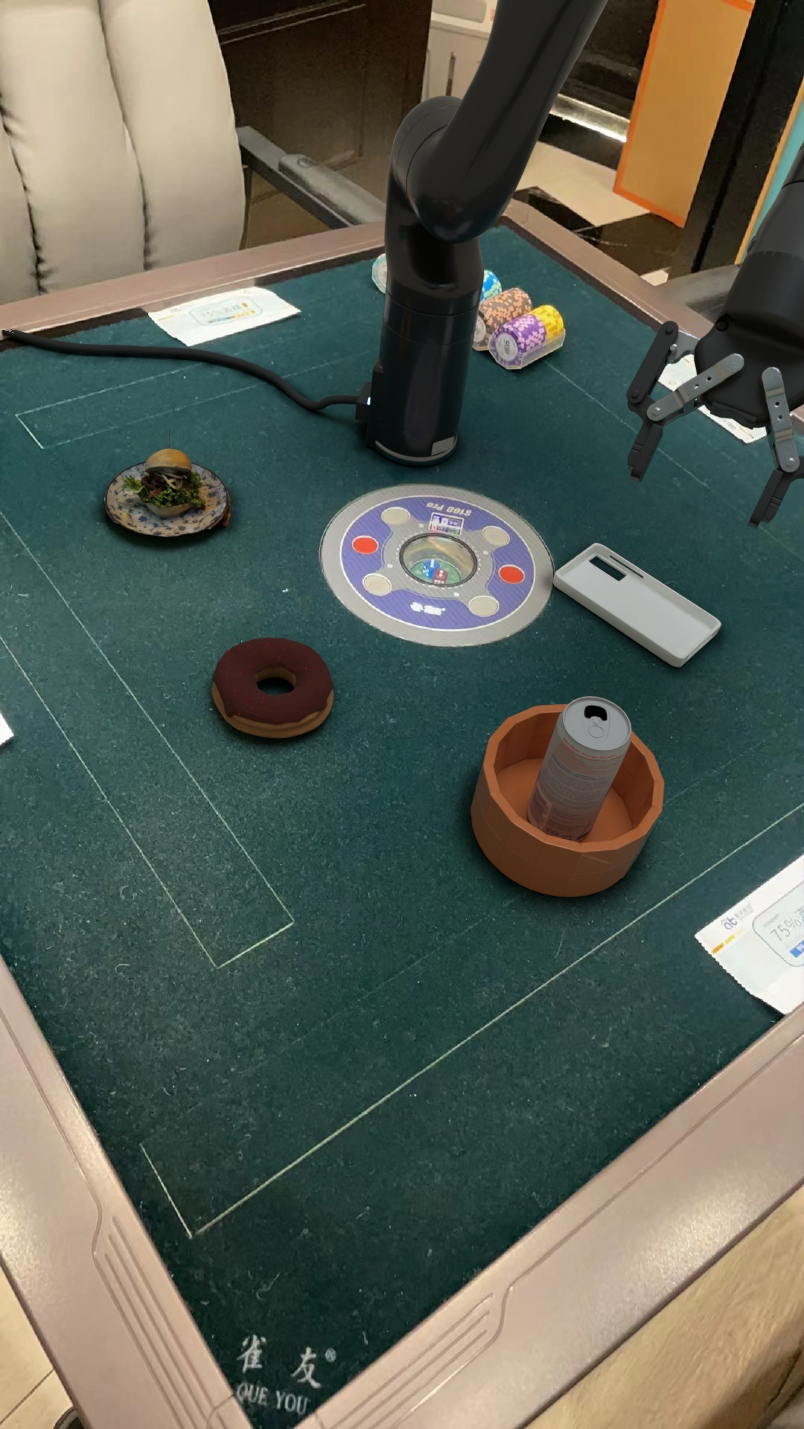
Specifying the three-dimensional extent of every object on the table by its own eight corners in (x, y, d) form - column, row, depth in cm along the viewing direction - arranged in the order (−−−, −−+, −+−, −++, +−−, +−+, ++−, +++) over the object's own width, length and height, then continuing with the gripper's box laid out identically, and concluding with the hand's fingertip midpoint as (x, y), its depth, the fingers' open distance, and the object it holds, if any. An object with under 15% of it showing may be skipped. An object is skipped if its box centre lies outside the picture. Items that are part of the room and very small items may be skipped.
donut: (350, 679, 91) (353, 648, 88) (306, 762, 85) (308, 732, 82) (243, 643, 92) (242, 611, 89) (192, 723, 86) (190, 691, 83)
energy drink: (591, 795, 85) (632, 699, 76) (593, 851, 82) (636, 758, 72) (526, 786, 85) (559, 689, 76) (525, 841, 82) (559, 746, 72)
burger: (81, 524, 100) (70, 460, 94) (146, 458, 107) (140, 395, 101) (193, 566, 98) (189, 503, 92) (252, 496, 105) (252, 433, 99)
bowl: (455, 871, 80) (469, 823, 75) (487, 737, 88) (501, 686, 83) (631, 916, 79) (657, 871, 74) (645, 777, 88) (669, 728, 83)
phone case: (549, 583, 102) (677, 670, 96) (552, 573, 100) (681, 660, 95) (594, 550, 105) (719, 632, 100) (597, 540, 104) (724, 622, 99)
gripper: (891, 331, 72) (786, 550, 74) (696, 264, 75) (600, 475, 77) (916, 289, 65) (799, 532, 67) (699, 217, 68) (593, 451, 70)
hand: (692, 501), depth 72 cm, fingers open, 8 cm apart
